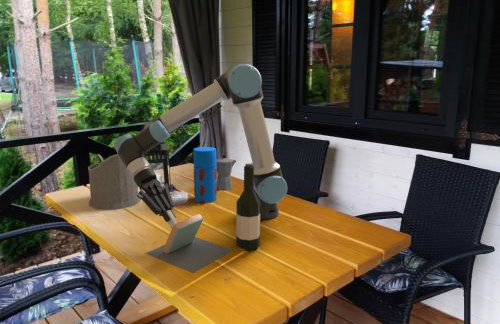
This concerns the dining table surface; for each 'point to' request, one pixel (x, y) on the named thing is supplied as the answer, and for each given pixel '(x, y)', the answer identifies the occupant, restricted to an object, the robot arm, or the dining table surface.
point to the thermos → (205, 174)
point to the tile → (183, 233)
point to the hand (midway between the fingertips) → (176, 227)
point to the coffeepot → (224, 173)
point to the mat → (192, 254)
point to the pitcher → (111, 185)
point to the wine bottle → (248, 214)
